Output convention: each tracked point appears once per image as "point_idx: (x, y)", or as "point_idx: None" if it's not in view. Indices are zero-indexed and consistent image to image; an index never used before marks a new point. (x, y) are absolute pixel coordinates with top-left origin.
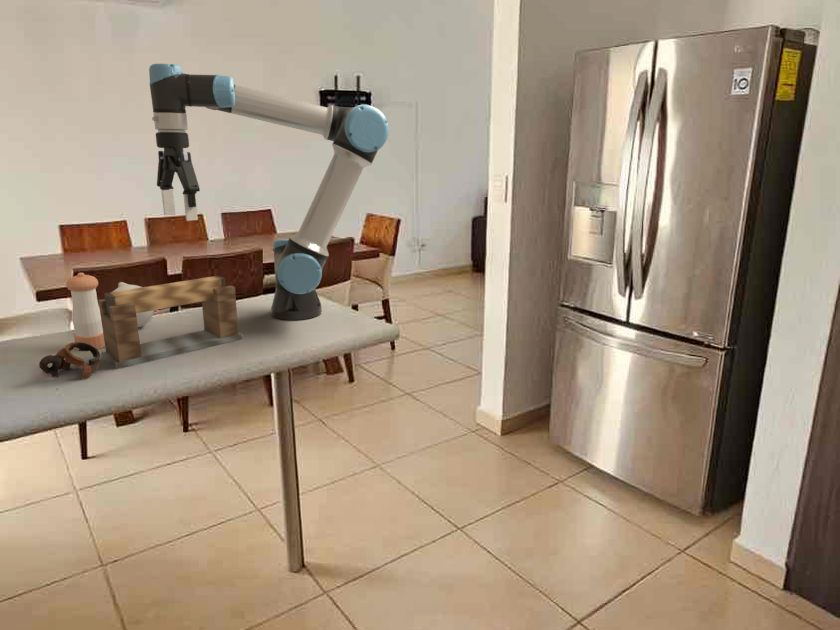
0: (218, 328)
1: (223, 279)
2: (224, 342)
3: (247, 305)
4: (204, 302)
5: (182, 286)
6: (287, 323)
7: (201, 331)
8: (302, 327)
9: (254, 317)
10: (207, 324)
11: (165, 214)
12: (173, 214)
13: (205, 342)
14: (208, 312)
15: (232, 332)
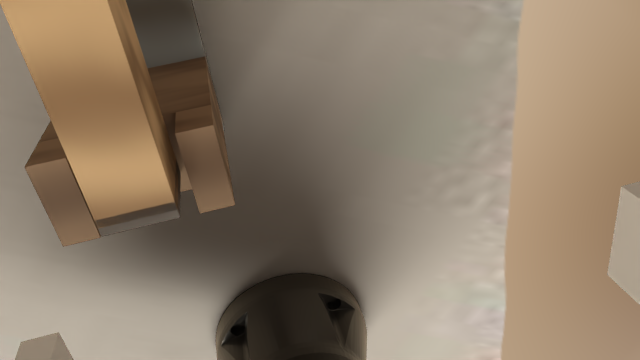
0: None
1: (100, 228)
2: None
3: (452, 235)
4: (182, 99)
5: (5, 12)
6: (205, 293)
7: (191, 42)
8: (144, 318)
9: (318, 228)
10: (175, 71)
11: (627, 193)
12: (612, 260)
13: None
14: None
15: None
